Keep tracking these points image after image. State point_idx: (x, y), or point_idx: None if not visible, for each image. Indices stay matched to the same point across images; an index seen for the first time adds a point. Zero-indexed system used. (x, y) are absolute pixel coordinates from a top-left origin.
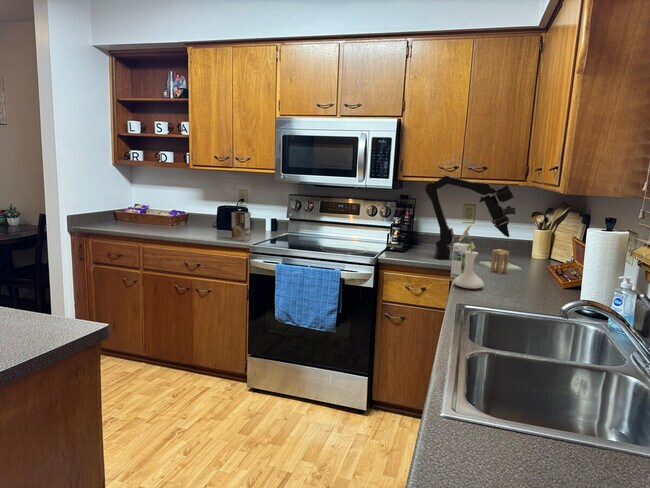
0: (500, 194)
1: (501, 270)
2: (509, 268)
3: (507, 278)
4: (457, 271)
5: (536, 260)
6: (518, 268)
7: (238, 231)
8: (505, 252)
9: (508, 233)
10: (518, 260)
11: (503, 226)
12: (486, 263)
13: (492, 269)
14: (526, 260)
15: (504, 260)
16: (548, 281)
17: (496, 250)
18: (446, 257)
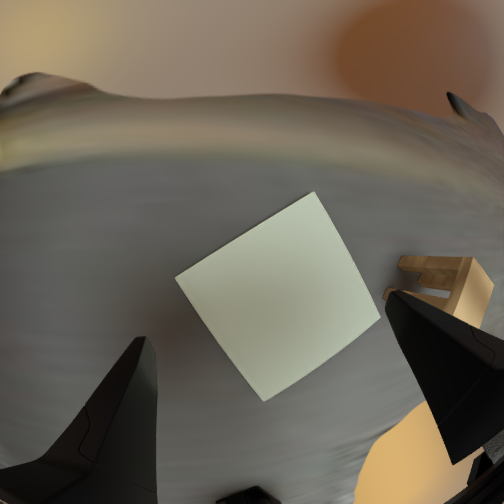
0: None
1: (432, 275)
2: (345, 249)
3: (459, 248)
4: None
5: (20, 144)
6: (322, 206)
7: None
8: (482, 273)
9: (427, 308)
10: (47, 217)
11: (489, 395)
12: (300, 365)
13: None
14: (33, 181)
15: (440, 273)
16: (426, 126)
17: (478, 318)
18: (259, 497)
